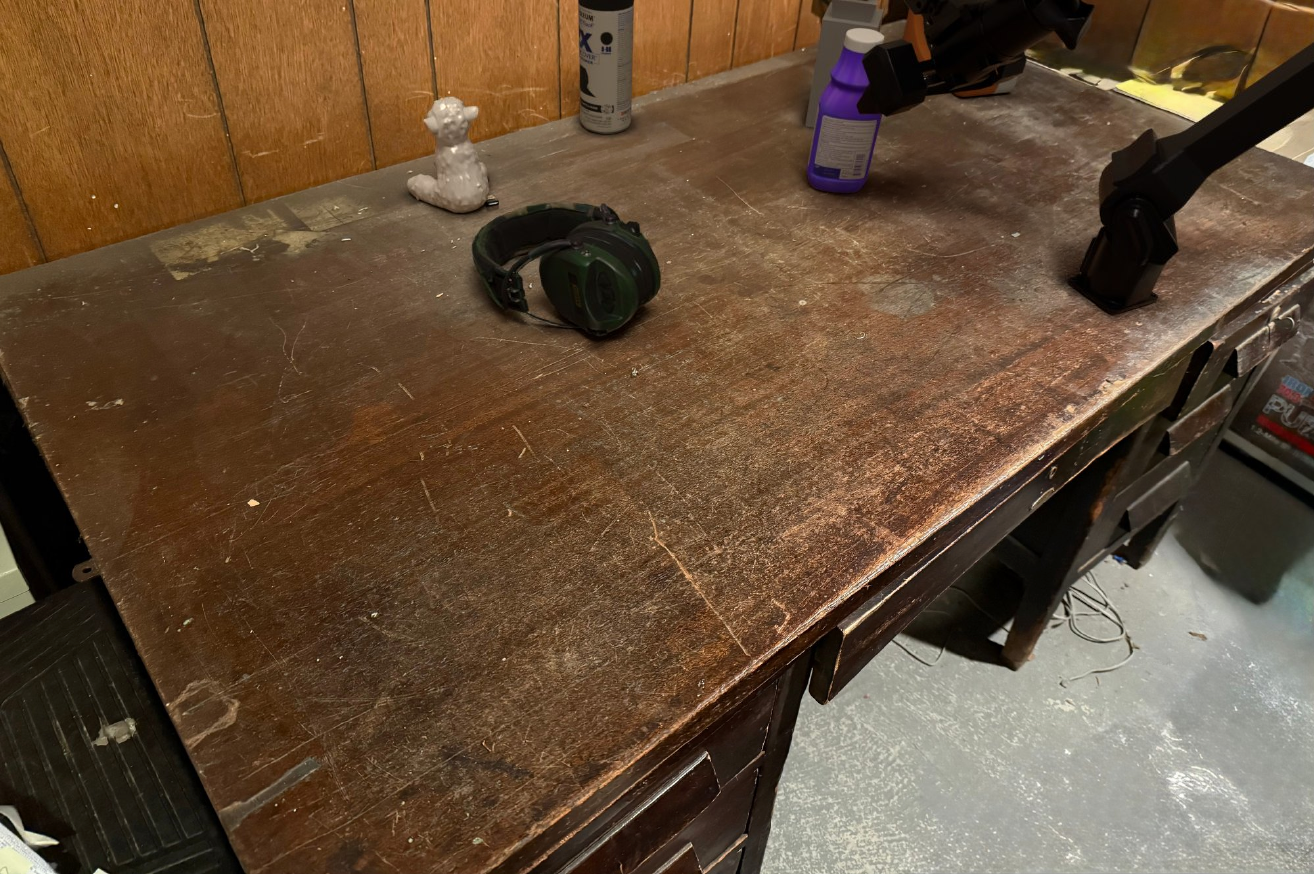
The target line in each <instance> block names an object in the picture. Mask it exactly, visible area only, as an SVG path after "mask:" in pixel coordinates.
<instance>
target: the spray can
mask: <svg viewBox="0 0 1314 874" xmlns="http://www.w3.org/2000/svg"><path fill="white" fill-rule="evenodd" d="M634 11H635V0H577V12H578V15H577V17H578V57H579V58H578V61H579V62H578V68H579V69H578V71H579V119H580V122H581V125H582V127H584V129H585V130H586V131H590V132H591V133H594V134H600V135H614V134H619V133H622V132H625V131H626V130H627V129H628V128H630V125H631V123H632V106H633V103H632V102H633V65H634V64H633V62H634V59H633V57H634V17H635V12H634Z"/></svg>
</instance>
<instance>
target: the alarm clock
mask: <svg viewBox="0 0 1314 874" xmlns="http://www.w3.org/2000/svg"><path fill="white" fill-rule="evenodd" d="M984 1H985V0H984ZM930 26H932V25H930V24H929V23H928V22H927V21H926V20H925V19H924V18H923V16H922V15H921V14H918V15H915V14H913V12H912V11H911V10H910V8H909V7H908V13H907V17H906V22H905V25H904V31H903V35H902V39H904V40H906V41H908V42H910V43H912V45H913V48H914V51H915V54H916V56H917V59H918V62H921V61H925V60H929V59H931V56H930V49H931V48H932V44H931V43H930V44H928V43H927V40H926V38H925V35H924V32H923V31H925V30H926V29H928V28H929V27H930ZM1026 52H1027V50H1025V51H1024V53H1025V54H1026ZM996 72H997V70H996ZM997 74H998V73H997ZM930 75H932V74H930ZM1018 78H1019V75H1018V76H1016V77H1015V78H1013V79H1011V80H1009V81H1007V82H1003V83H1000V84H997V85H994V86H991V87H987V88H984V89H980V90H973V91H965V92H956V93H953V94H954V95H955V96H957V97H959V98H963V97H964V98H965V97H974V96H983V95H985V96H986V95H994V94H1003V93H1010V92H1011V91H1013V89H1014V88H1015V86H1016V85H1017V81H1018Z"/></svg>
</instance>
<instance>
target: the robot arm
mask: <svg viewBox="0 0 1314 874" xmlns="http://www.w3.org/2000/svg"><path fill="white" fill-rule="evenodd" d="M903 2H904V4H905V5H906V6H907V8H908V9H909V8H910V10H911V11H912V12H913V14H915V15H918V14H921V15H922V16H923V18H924V19H925V20H926V21H927V22H928V23H929V24H930V25H932V26H930V27H929V28H928V29H926V30H925V31H923V32H924V35H925V38H926V40H927V43H928V44H930V43H931V44H932V48H931V49H930V56H931V59H929V60H925V61H921V62H918V59H917V56H916V54H915V51H914V48H913V45H912V43H910V42H908V41H906V40H904V39H903V38H899V39H895V40H891V41H887V42H883V43H882V44H878V45H876V46H874V47H873V48H872V49H870V50H869V51H868V52H866V53H865V54H864V55H863V58H862V64H863V66H864V69H865V72H866V75H867V78H868V80H869V85H868V87H867V88H866V90H865V91H864V93H863V94H862V96H861V98H860V99H859V101H858V102H857V104H856V107H857V110H858V112H859V114H882V116H884V117H886V118H887V117H891V116H895V115H899V114H902V113H905V112H908V111H911V110H912V109H914V108H916V107H918V106H919V105H921V104H923V103H924V102H925V100H926V97H930V96H931V97H932V96H939V95H947V94H954V93H956V92H965V91H973V90H980V89H984V88H987V87H991V86H994V85H997V84H1000V83H1003V82H1007V81H1009V80H1011V79H1013V78H1015V77H1016V76H1018V77H1019V76H1020V75H1021V74H1023V73H1024V69H1025V67H1026V64H1027V61H1028V59H1027V56H1026V53H1024V51H1025V50H1026V51H1027V50H1028V49H1030V48H1032V47H1034V46H1035V45H1037V44H1038V43H1040V42H1042V41H1044V40H1045V39H1047V38H1048V37H1050V36H1051V35H1054V34H1056V35H1057V36H1058V38H1059V39H1060V41H1061V42H1062V43H1063V44H1064V46H1065V47H1066V48H1067V49H1068V50H1069V51H1075V50H1076V49H1077V47H1078V46H1079V44H1080V43H1081V42H1082V40H1083V38H1084V37H1085V36H1086V34H1087V32H1088V31H1089V29H1090V28H1091V26H1092V18H1093V13H1094V11H1095V10H1096V5H1095V4H1092V3H1087V2H1086V1H1083V0H985V1H984V0H903ZM996 70H997V72H996ZM997 73H998V74H997ZM930 74H932V75H930ZM1313 110H1314V41H1313V42H1312V43H1310V44H1308V45H1307V46H1305V48H1302V49H1301V50H1300V51H1298V52H1297V53H1295V54H1294V55H1293V56H1291V57H1290V58H1289V59H1287V60H1285V61H1283V63H1280V64H1279V65H1278V66H1277V67H1275V68H1273V69H1272V70H1271V71H1269V72H1268V73H1266V74H1265V75H1264V76H1262V77H1260V78H1259V79H1258V80H1256V81H1254V82H1253V83H1252V84H1250V85H1249V86H1247V87H1246V88H1245V89H1243V90H1242V91H1240V92H1239V93H1237V94H1235V95H1234V96H1233V97H1231V98H1230V99H1229V100H1227V101H1225V102H1224V103H1223V104H1221V105H1220V106H1219V107H1217V108H1216V109H1214V110H1213V111H1211V112H1210V113H1208V114H1207V115H1206V116H1204V117H1202V118H1201V119H1199V120H1197V122H1195V123H1193V124H1192V125H1191V126H1188V128H1186V129H1185V130H1183V131H1181V132H1178V133H1175V134H1171V135H1167V136H1164V137H1158V136H1157V134H1156V132H1155V129H1153V128H1151V127H1150V128H1148V129H1147V130H1145V131H1144V132H1142V133H1141V134H1140V135H1139V136H1138V137H1137V138H1136V139H1135V140H1134V141H1133V142H1131V143H1129V145H1127V146H1125V147H1123V148H1122V149H1119V150H1116V151H1113V152H1111V155H1110V156H1111V157H1110V158H1111V161H1110V162H1109V163H1108V164H1107V165H1106V166H1105V167H1104V168H1103V170H1102V171H1101V173H1100V176H1099V181H1098V213H1099V214H1098V215H1099V221H1100V223H1101V225H1102V226H1101V227H1099V230H1098V233H1097V235H1096V236H1094V237H1092V238H1091V240H1090V242H1089V244H1088V246H1087V249H1086V251H1085V253H1084V256H1083V258H1082V261H1081V263H1080V265H1079V267H1078V272H1079V273H1078V274H1075V275H1071V276H1069V277H1068V279H1067V281H1066V282H1067V284H1069V286H1072V287H1073V288H1074V289H1076V290H1077V291H1078V292H1080V293H1081V294H1083V295H1084V296H1085V297H1086V298H1088V299H1090V300H1091V301H1093V303H1095V304H1096V305H1098V306H1099V307H1100V308H1102V309H1103V310H1105V311H1106V312H1107V313H1108V314H1109V313H1110V314H1112V315H1117V314H1121V313H1124V312H1127V311H1130V310H1134V309H1137V308H1140V307H1143V306H1146V305H1149V304H1152V303H1156V302H1157V301H1158V300H1159V295H1158V294H1157V293H1155V292H1154V291H1153V290H1154V288H1155V286H1156V284H1157V283H1158V280H1159V279H1160V277H1161V275H1162V272H1163V271H1164V269H1165V266H1166V265H1167V263H1168V262H1169V261H1170V260H1171V259H1172V258H1173V257H1174V256H1175V255H1176V254H1178V252H1179V250H1180V247H1179V242H1178V240H1179V239H1178V235H1177V234H1178V233H1177V227H1176V221H1175V220H1176V219H1175V215H1176V214H1178V212H1179V211H1180V210H1181V209H1183V208H1184V207H1185V206H1186V204H1187V203H1188V202H1189V201H1190V200H1191V199H1192V197H1193V196H1194V195H1195V194H1196V192H1197V191H1198V190H1199V189H1200V187H1201V186H1202V185H1203V184H1204V183H1205V181H1206V180H1207V179H1208V178H1209V177H1211V176H1212V175H1213V174H1214V173H1215V172H1217V171H1218V170H1220V169H1222V168H1223V167H1225V166H1227V165H1228V164H1229V163H1231V162H1233V161H1234V160H1236V159H1237V158H1239V157H1241V156H1242V155H1244V154H1245V153H1247V152H1248V151H1250V150H1252V149H1253V148H1255V147H1256V146H1257V145H1259V144H1260V143H1262V142H1264V141H1266V139H1269V138H1270V137H1272V136H1273V135H1275V134H1276V133H1278V132H1279V131H1281V130H1282V129H1284V128H1286V127H1287V126H1289V125H1290V124H1292V123H1294V122H1295V121H1297V120H1299V119H1300V118H1302V117H1303V116H1305V115H1307V114H1308V113H1309V112H1311V111H1313Z"/></svg>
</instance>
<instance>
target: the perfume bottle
mask: <svg viewBox="0 0 1314 874" xmlns="http://www.w3.org/2000/svg"><path fill="white" fill-rule="evenodd" d="M879 1H880V0H831V2H830V3H829V4H828V7H827V9H826V11H825V13H824V15H823V17H822V19H821V26H820V30H819V31H820V32H819V38H818V44H817V51H816V55H815V56H816V57H815V63H814V68H813V69H814V70H813V76H812V81H811V88H810V94H809V101H808V106H807V112H806V120H805V125H804V126H805V127H806V128H813V129H814V125H815V119H816V114H817V108H818V103H819V98H820V97H821V94H822V93H823V91H824V90H825V88H826V87H827V85H828V84H829V83H830V81H831V76H830V72H831V70H832V68H833V67H834V66H835V65H836V64H837V62H838V60H839V58H840V55H841V53H842V50H843V45H844V40H845V36H846V32H847V31H848V30H850V29H855V28H864V29H871V30H875V31H877V32H879V33H881V27H882V22H883V18H884V17H883V16H884V12H885V9H884V8H877V6H878V4H879Z"/></svg>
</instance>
